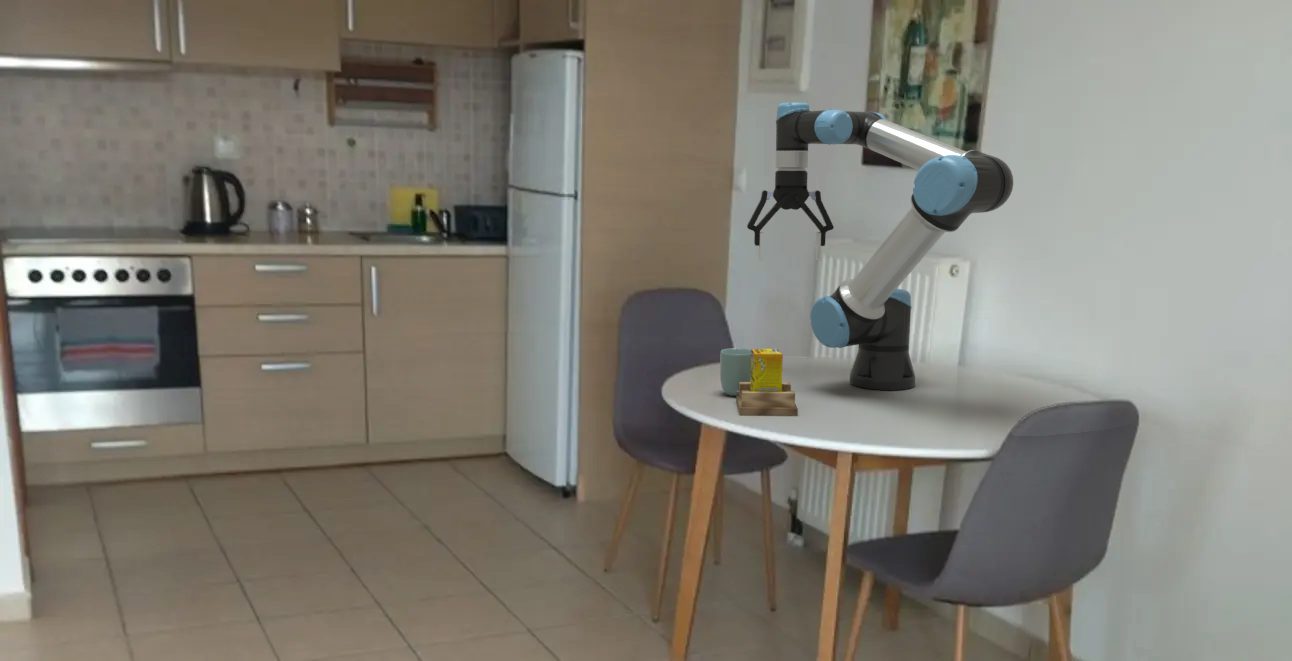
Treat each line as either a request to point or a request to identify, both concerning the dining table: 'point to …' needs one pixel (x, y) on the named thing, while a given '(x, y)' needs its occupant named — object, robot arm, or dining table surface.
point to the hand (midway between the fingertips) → (789, 259)
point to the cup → (734, 369)
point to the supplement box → (766, 370)
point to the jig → (766, 401)
